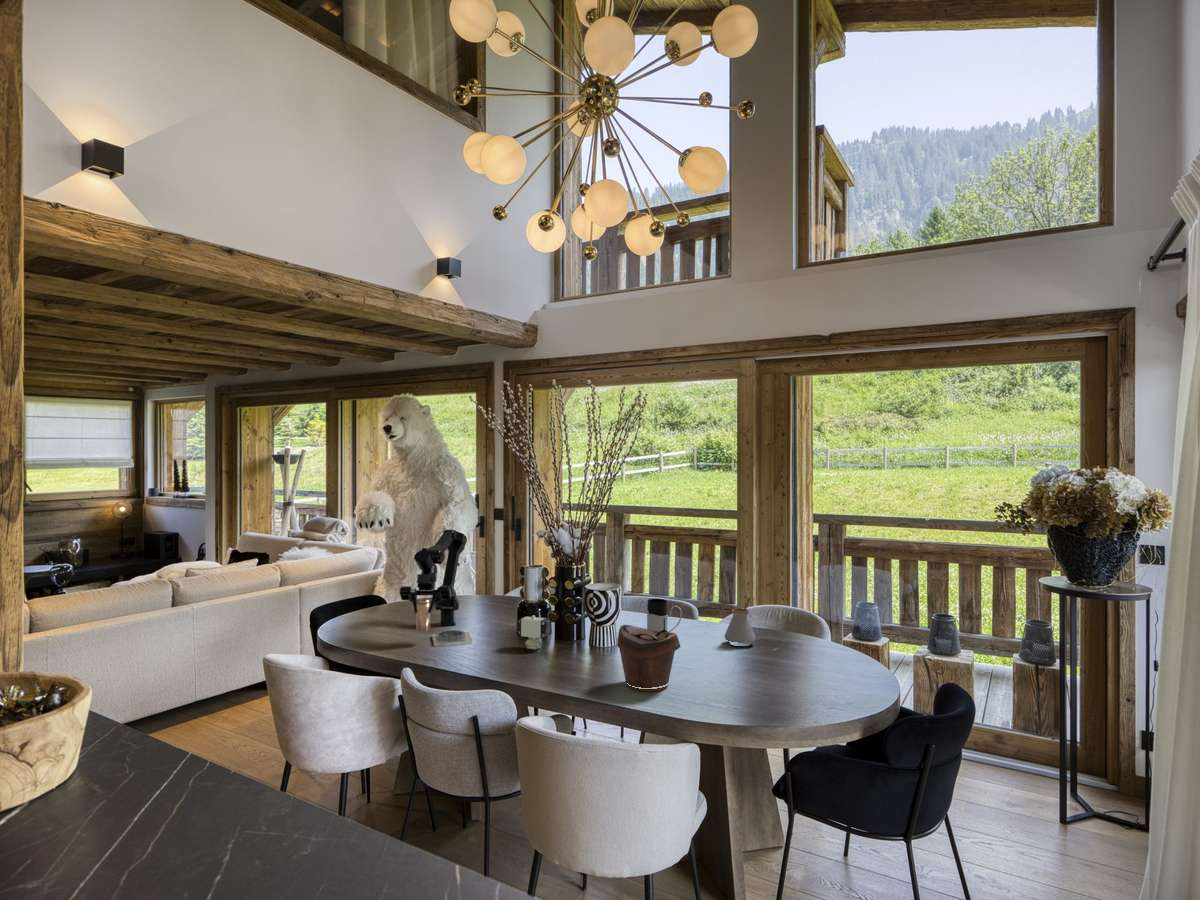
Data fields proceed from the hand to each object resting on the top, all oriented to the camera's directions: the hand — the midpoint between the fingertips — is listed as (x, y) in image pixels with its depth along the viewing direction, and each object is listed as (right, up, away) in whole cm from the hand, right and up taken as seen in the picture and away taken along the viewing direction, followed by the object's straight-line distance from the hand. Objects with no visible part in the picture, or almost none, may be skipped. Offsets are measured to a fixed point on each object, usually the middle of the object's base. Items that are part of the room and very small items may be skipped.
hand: (422, 612), depth 256 cm
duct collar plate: (+9, -12, +7) cm, 17 cm away
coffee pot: (+121, -13, +8) cm, 122 cm away
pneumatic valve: (+42, -12, -3) cm, 44 cm away
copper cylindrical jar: (0, -7, +1) cm, 7 cm away
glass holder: (+90, -13, +8) cm, 92 cm away
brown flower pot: (+81, -12, -44) cm, 93 cm away
